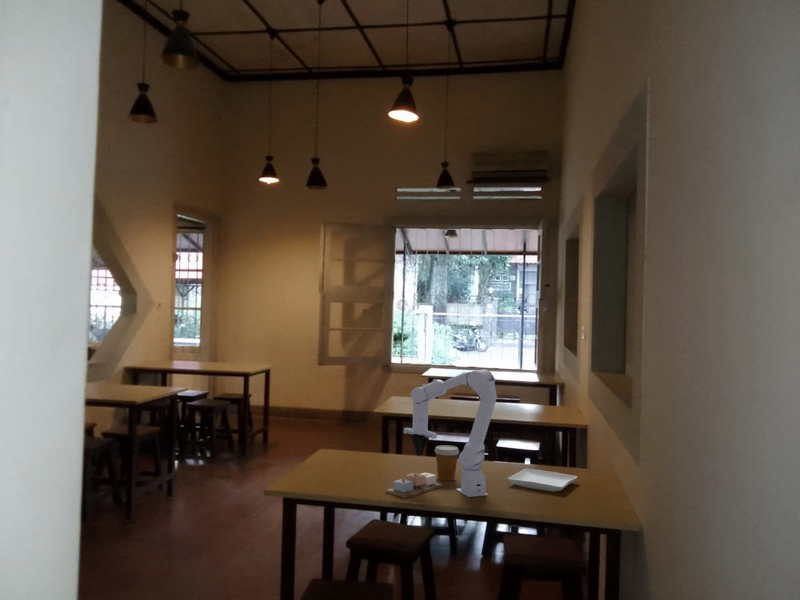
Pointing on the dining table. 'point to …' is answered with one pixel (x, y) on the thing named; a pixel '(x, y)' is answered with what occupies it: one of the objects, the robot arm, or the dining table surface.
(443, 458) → the disposable coffee cup
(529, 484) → the salad plate
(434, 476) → the key one
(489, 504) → the dining table surface
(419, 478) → the key two
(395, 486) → the key three
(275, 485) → the dining table surface
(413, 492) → the board
